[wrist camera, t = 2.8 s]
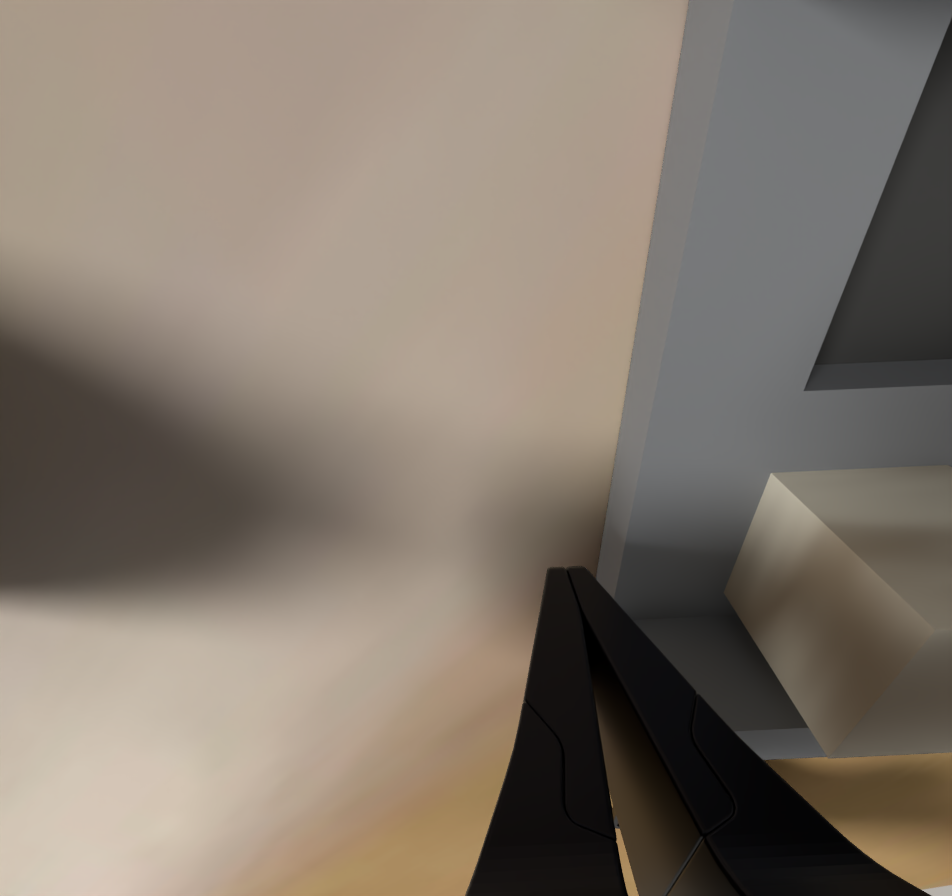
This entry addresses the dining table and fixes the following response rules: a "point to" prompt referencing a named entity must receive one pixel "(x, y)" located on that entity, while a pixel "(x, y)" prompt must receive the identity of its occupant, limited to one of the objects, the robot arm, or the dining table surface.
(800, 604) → the birch block
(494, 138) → the dining table surface
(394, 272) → the dining table surface
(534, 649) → the robot arm
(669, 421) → the box
